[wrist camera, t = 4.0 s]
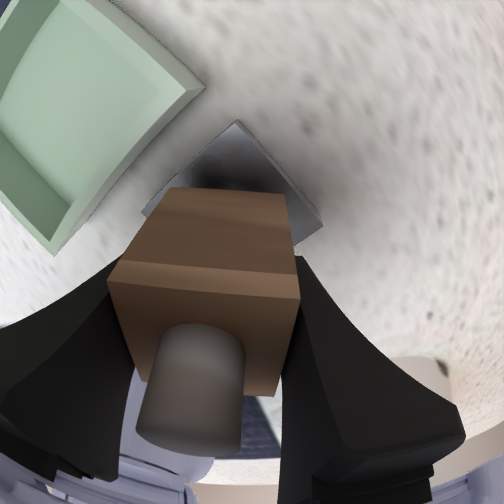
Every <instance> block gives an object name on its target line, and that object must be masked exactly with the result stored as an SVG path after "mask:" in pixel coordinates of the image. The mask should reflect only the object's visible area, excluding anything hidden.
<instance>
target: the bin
mask: <svg viewBox="0 0 504 504" xmlns="http://www.w3.org/2000/svg"><path fill="white" fill-rule="evenodd" d="M205 88H206V86H205V85H204V84H203V83H202V82H201V81H200V80H199V79H198V78H197V77H196V76H195V75H194V74H193V73H192V72H191V71H190V70H189V69H188V68H187V67H185V66H184V65H183V64H182V63H181V62H180V61H179V60H178V59H177V58H176V57H175V56H174V55H173V54H172V53H171V52H169V51H168V50H167V49H166V48H165V47H164V46H163V45H162V44H161V43H160V42H158V41H157V40H156V39H155V38H154V37H153V36H152V35H151V34H149V33H148V32H147V31H146V30H145V29H144V28H143V27H141V26H140V25H139V24H138V23H137V22H136V21H134V20H133V19H132V18H131V17H130V16H128V15H127V14H126V13H125V12H123V11H122V10H121V9H120V8H119V7H117V6H116V5H115V4H114V3H112V2H111V1H110V0H12V1H11V2H10V4H9V5H8V7H7V9H6V10H5V12H4V14H3V15H2V17H1V19H0V201H1V202H2V203H3V204H4V206H5V207H6V208H7V209H8V210H9V211H10V212H11V213H12V215H13V216H14V217H15V218H16V219H17V220H18V221H19V222H20V223H21V224H22V225H23V226H24V227H25V228H26V230H27V231H28V232H29V233H30V234H31V235H32V236H33V237H34V238H35V239H36V240H37V241H38V242H39V243H40V244H41V245H42V246H43V247H44V248H45V249H46V250H47V251H48V252H50V253H51V254H52V255H53V256H54V257H55V255H56V254H57V253H58V252H59V251H60V250H61V249H62V247H63V246H64V245H65V244H66V243H67V242H68V241H69V240H70V239H71V237H72V236H73V235H74V234H75V233H76V232H77V231H78V230H79V229H80V228H81V227H82V226H83V225H84V224H85V222H86V221H87V220H88V218H89V217H90V216H91V214H92V213H93V211H94V210H95V209H96V207H97V206H98V205H99V203H100V202H101V201H102V199H103V198H104V197H105V196H106V194H107V193H108V192H109V190H110V189H111V188H112V187H113V185H114V184H115V183H116V182H117V180H118V179H119V178H120V177H121V176H122V174H123V173H124V172H125V171H126V170H127V168H128V167H129V166H130V165H131V164H132V163H133V161H134V160H135V159H136V158H137V157H138V156H139V155H140V153H141V152H142V151H143V150H144V149H145V148H146V147H147V146H148V145H149V143H150V142H151V141H152V140H153V139H154V138H155V137H156V136H157V135H158V134H159V133H160V132H161V131H162V130H163V129H164V128H165V127H166V125H167V124H168V123H169V122H170V121H171V120H172V119H173V118H174V117H175V116H176V115H177V114H178V113H179V112H180V111H181V110H183V109H184V108H185V107H186V106H187V105H188V104H189V103H190V102H191V101H192V100H193V99H194V98H195V97H196V96H197V95H198V94H200V93H201V92H202V91H203V90H204V89H205Z"/></svg>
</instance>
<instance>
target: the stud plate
mask: <svg viewBox="0 0 504 504" xmlns="http://www.w3.org/2000/svg"><path fill="white" fill-rule="evenodd" d="M170 187H185V188H205V189H222V190H236V191H250V192H262V193H273V194H284V195H285V200H286V206H287V212H288V218H289V224H290V231H291V237H292V243H293V246H295V245H296V244H298V243H299V242H301V241H302V240H304V239H305V238H306V237H308V236H309V235H311V234H312V233H314V232H315V231H317V230H318V229H320V228H321V227H323V223H322V220H321V217H320V215H319V213H318V212H317V211H316V209H315V208H314V207H313V206H312V204H311V203H310V202H309V201H308V199H307V198H306V197H305V196H304V195H303V193H302V192H301V191H300V190H299V188H298V187H297V186H296V185H295V184H294V182H293V181H292V180H291V179H290V178H289V177H288V175H287V174H286V173H285V172H284V171H283V169H282V168H281V167H280V166H279V165H278V164H277V162H276V161H275V160H274V159H273V158H272V157H271V156H270V154H269V153H268V152H267V151H266V150H265V149H264V148H263V147H262V145H261V144H260V143H259V142H258V141H257V140H256V139H255V138H254V136H253V135H252V134H251V133H250V132H249V131H248V130H247V129H246V128H245V127H244V126H243V124H242V123H241V122H240V121H239V120H238V119H237V120H236V121H235V122H234V123H232V124H231V125H230V126H229V127H228V128H227V129H225V130H224V131H223V132H222V133H221V134H220V135H218V136H217V137H216V138H215V139H214V140H213V141H212V142H211V143H209V144H208V145H207V146H206V147H205V148H204V149H203V150H202V151H201V152H200V153H198V154H197V155H196V156H195V157H194V158H193V159H192V160H191V161H190V162H189V163H188V164H187V165H186V166H185V167H184V168H182V169H181V170H180V171H179V172H178V173H177V174H176V175H175V176H174V177H173V178H172V179H171V180H170V181H169V182H168V183H167V184H166V185H165V186H164V187H163V188H162V189H161V190H160V191H159V192H158V193H157V194H156V195H155V196H154V197H153V198H152V199H151V200H150V201H149V203H148V204H147V205H146V206H145V208H144V209H143V210H142V212H141V213H142V214H143V215H145V216H146V217H147V218H148V217H149V216H150V214H151V213H152V211H153V210H154V209H155V207H156V206H157V204H158V203H159V202H160V200H161V199H162V198H163V196H164V195H165V194H166V192H167V191H168V190H169V188H170Z"/></svg>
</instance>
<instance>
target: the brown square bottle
mask: <svg viewBox="0 0 504 504" xmlns="http://www.w3.org/2000/svg"><path fill="white" fill-rule="evenodd" d="M106 281H107V284H108V288H109V291H110V295H111V298H112V301H113V305H114V308H115V311H116V314H117V317H118V320H119V323H120V326H121V329H122V332H123V335H124V338H125V340H126V343H127V346H128V349H129V351H130V354H131V357H132V359H133V362H134V364H135V367H136V369H137V372H138V374H139V377H140V379H141V381H142V382H146V383H147V387H146V390H145V394H144V397H143V401H142V405H141V408H140V412H139V416H138V420H137V424H136V428H135V430H136V432H137V434H138V435H139V436H140V437H142V438H143V439H144V440H146V441H148V442H149V443H151V444H153V445H155V446H158V447H160V448H163V449H166V450H169V451H172V452H176V453H180V454H185V455H190V456H198V457H223V456H229V455H233V454H235V453H237V452H238V451H239V450H240V443H241V427H242V410H243V395H250V396H270V397H274V396H275V393H276V389H277V386H278V382H279V379H280V375H281V372H282V368H283V365H284V361H285V358H286V354H287V350H288V347H289V343H290V339H291V335H292V331H293V327H294V324H295V320H296V316H297V312H298V308H299V304H300V299H301V298H300V291H299V284H298V277H297V270H296V263H295V256H294V250H293V243H292V237H291V231H290V224H289V218H288V212H287V206H286V200H285V195H284V194H273V193H262V192H250V191H236V190H222V189H205V188H185V187H170V188H169V190H168V191H167V192H166V194H165V195H164V196H163V198H162V199H161V200H160V202H159V203H158V204H157V206H156V207H155V209H154V210H153V211H152V213H151V214H150V216H149V217H148V218H147V220H146V221H145V223H144V224H143V225H142V227H141V228H140V230H139V231H138V233H137V234H136V236H135V237H134V239H133V240H132V241H131V243H130V244H129V246H128V247H127V249H126V250H125V252H124V254H123V255H122V257H121V258H120V260H119V261H118V263H117V264H116V266H115V268H114V269H113V271H112V272H111V274H110V275H109V277H108V279H107V280H106Z"/></svg>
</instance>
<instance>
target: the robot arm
mask: <svg viewBox="0 0 504 504" xmlns="http://www.w3.org/2000/svg"><path fill="white" fill-rule="evenodd" d="M123 254H124V253H123ZM123 254H122V255H123ZM122 255H121V256H119V257H118V258H117V259H115V260H114V261H113V262H111V263H110V264H109V265H107V266H106V267H105V268H103V269H102V270H101V271H99V272H98V273H97V274H95V275H94V276H92V277H91V278H90V279H88V280H87V281H85V282H84V283H82V284H81V285H80V286H78V287H77V288H75V289H74V290H73V291H71V292H70V293H68V294H66V295H65V296H63V297H62V298H60V299H59V300H57V301H55V302H54V303H52V304H50V305H49V306H47V307H45V308H43V309H41V310H39V311H37V312H36V313H34V314H32V315H30V316H28V317H26V318H24V319H22V320H20V321H18V322H16V323H14V324H11V325H9V326H7V327H4V328H2V329H0V504H199V501H198V498H197V496H196V495H195V493H194V492H193V490H192V489H191V487H189V486H186V485H185V483H194V482H197V481H199V480H201V479H202V478H203V477H204V476H205V475H206V474H207V473H208V472H209V470H210V468H211V466H212V464H213V462H214V458H215V457H198V456H190V455H185V454H180V453H176V452H172V451H169V450H166V449H163V448H160V447H158V446H155V445H153V444H151V443H149V442H148V441H146V440H144V439H143V438H142V437H140V436H139V435H138V434H137V432H136V430H135V428H136V424H137V420H138V416H139V412H140V408H141V405H142V401H143V397H144V394H145V390H146V387H147V383H146V382H142V381H141V379H140V377H139V374H138V372H137V369H136V367H135V364H134V362H133V359H132V357H131V354H130V351H129V349H128V346H127V343H126V340H125V338H124V335H123V332H122V329H121V326H120V323H119V320H118V317H117V314H116V311H115V308H114V305H113V301H112V298H111V295H110V291H109V288H108V284H107V281H106V280H107V279H108V277H109V275H110V274H111V272H112V271H113V269H114V268H115V266H116V264H117V263H118V261H119V260H120V258H121V257H122ZM295 263H296V270H297V277H298V284H299V291H300V298H301V299H300V304H299V308H298V312H297V316H296V320H295V324H294V327H293V331H292V335H291V339H290V343H289V347H288V350H287V354H286V358H285V361H284V365H283V368H282V372H281V381H282V440H281V461H280V477H279V490H278V500H277V504H504V453H502V454H501V455H499V456H497V457H495V458H493V459H491V460H489V461H487V462H485V463H484V464H482V465H480V466H478V467H476V468H474V469H473V470H471V471H469V472H468V473H467V474H465V475H463V476H460V477H458V478H455V479H453V480H450V481H448V482H445V483H443V484H440V485H437V486H435V487H432V488H430V482H429V478H430V477H432V476H434V470H433V464H434V463H435V462H437V461H438V460H440V459H442V458H444V457H445V456H447V455H448V454H450V453H451V452H453V451H454V450H456V449H457V448H458V447H460V445H462V444H463V442H464V441H465V438H466V434H465V431H464V427H463V424H462V421H461V418H460V415H459V412H458V409H457V407H456V405H454V404H453V403H451V402H449V401H448V400H446V399H444V398H443V397H441V396H439V395H438V394H436V393H434V392H433V391H431V390H430V389H428V388H426V387H425V386H423V385H422V384H421V383H419V382H418V381H416V380H415V379H414V378H412V377H411V376H410V375H408V374H407V373H405V372H404V371H403V370H402V369H400V368H399V367H398V366H397V365H395V364H394V363H393V362H392V361H391V360H390V359H388V358H387V357H386V356H385V355H384V354H383V353H381V352H380V351H379V350H378V349H377V348H376V347H375V346H374V345H373V344H372V343H371V342H370V341H369V340H368V339H367V338H366V337H365V336H364V335H363V334H362V333H361V332H360V331H359V330H358V329H357V328H356V327H355V326H354V325H353V324H352V323H351V322H350V320H349V319H348V318H347V317H346V316H345V314H344V313H343V312H342V311H341V310H340V308H339V307H338V306H337V305H336V303H335V302H334V301H333V299H332V298H331V297H330V295H329V294H328V293H327V291H326V290H325V288H324V287H323V286H322V284H321V283H320V281H319V280H318V278H317V277H316V275H315V274H314V272H313V271H312V269H311V268H310V266H309V265H308V263H307V262H306V260H305V259H304V258H303V256H295ZM45 484H46V485H48V486H50V487H52V488H53V489H52V494H50V493H49V492H48V490H47V487H46V485H45Z"/></svg>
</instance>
